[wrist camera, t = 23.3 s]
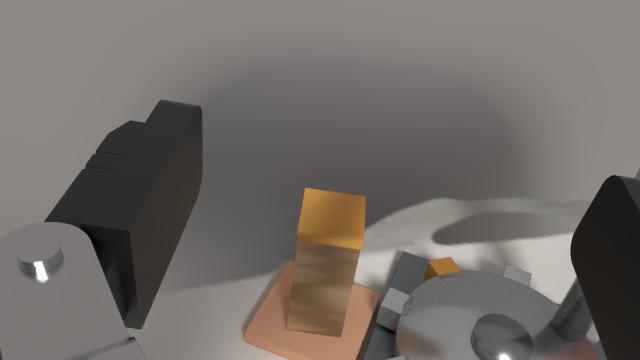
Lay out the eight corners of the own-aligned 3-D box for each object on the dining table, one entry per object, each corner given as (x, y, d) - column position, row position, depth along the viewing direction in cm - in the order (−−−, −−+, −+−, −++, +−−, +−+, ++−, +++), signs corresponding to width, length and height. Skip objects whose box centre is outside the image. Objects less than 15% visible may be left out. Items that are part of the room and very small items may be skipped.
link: (285, 330, 40) (297, 228, 34) (293, 287, 43) (305, 188, 37) (341, 338, 40) (363, 238, 34) (344, 295, 43) (365, 196, 37)
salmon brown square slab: (244, 340, 40) (244, 332, 39) (287, 268, 46) (288, 259, 45) (347, 382, 38) (349, 374, 37) (378, 301, 44) (380, 293, 44)
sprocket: (445, 527, 30) (552, 354, 21) (338, 294, 43) (374, 118, 33) (671, 444, 36) (840, 277, 26) (518, 259, 48) (594, 99, 38)
